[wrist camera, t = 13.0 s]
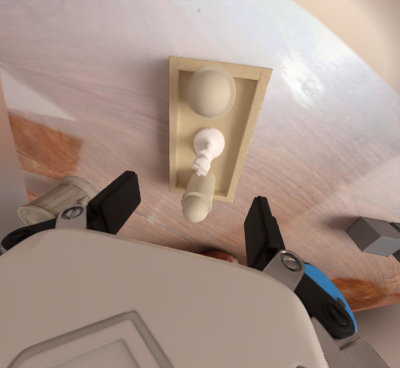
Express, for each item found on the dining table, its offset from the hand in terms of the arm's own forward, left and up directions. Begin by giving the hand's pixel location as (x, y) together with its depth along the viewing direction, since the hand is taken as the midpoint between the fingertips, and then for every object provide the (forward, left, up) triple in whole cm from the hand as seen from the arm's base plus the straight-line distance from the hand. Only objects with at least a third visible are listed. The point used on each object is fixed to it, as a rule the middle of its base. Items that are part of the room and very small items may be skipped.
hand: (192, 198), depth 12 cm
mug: (+17, -27, -16) cm, 36 cm away
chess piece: (0, 0, -15) cm, 15 cm away
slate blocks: (+12, +35, -15) cm, 40 cm away
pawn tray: (0, 0, -15) cm, 15 cm away
